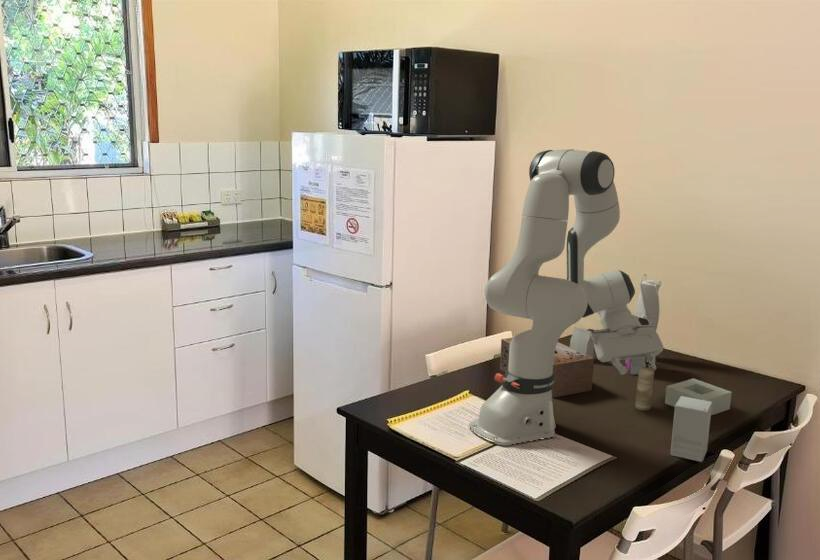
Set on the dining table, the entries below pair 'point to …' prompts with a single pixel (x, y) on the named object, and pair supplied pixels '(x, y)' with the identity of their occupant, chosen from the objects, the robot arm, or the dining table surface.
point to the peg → (644, 388)
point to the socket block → (699, 394)
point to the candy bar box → (635, 361)
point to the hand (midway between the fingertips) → (639, 371)
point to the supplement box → (691, 428)
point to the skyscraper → (649, 302)
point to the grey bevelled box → (582, 341)
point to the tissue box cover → (562, 369)
